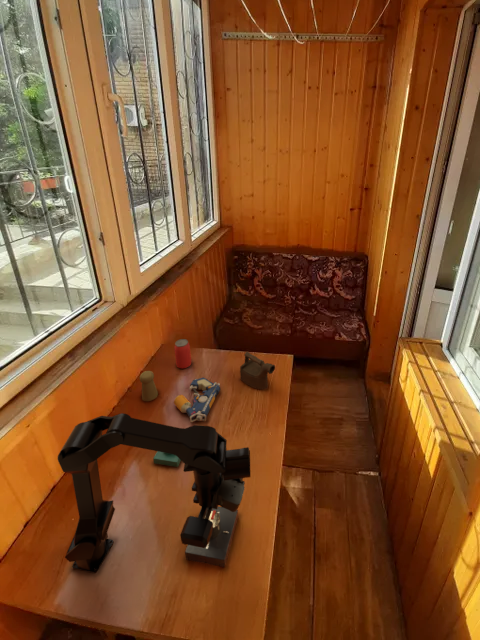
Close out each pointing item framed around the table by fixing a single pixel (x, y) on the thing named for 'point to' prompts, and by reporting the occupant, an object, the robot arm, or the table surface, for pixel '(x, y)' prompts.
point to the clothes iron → (255, 371)
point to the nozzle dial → (215, 523)
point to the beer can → (182, 353)
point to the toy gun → (198, 399)
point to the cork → (148, 386)
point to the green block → (166, 459)
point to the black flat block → (216, 541)
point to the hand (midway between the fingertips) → (211, 519)
